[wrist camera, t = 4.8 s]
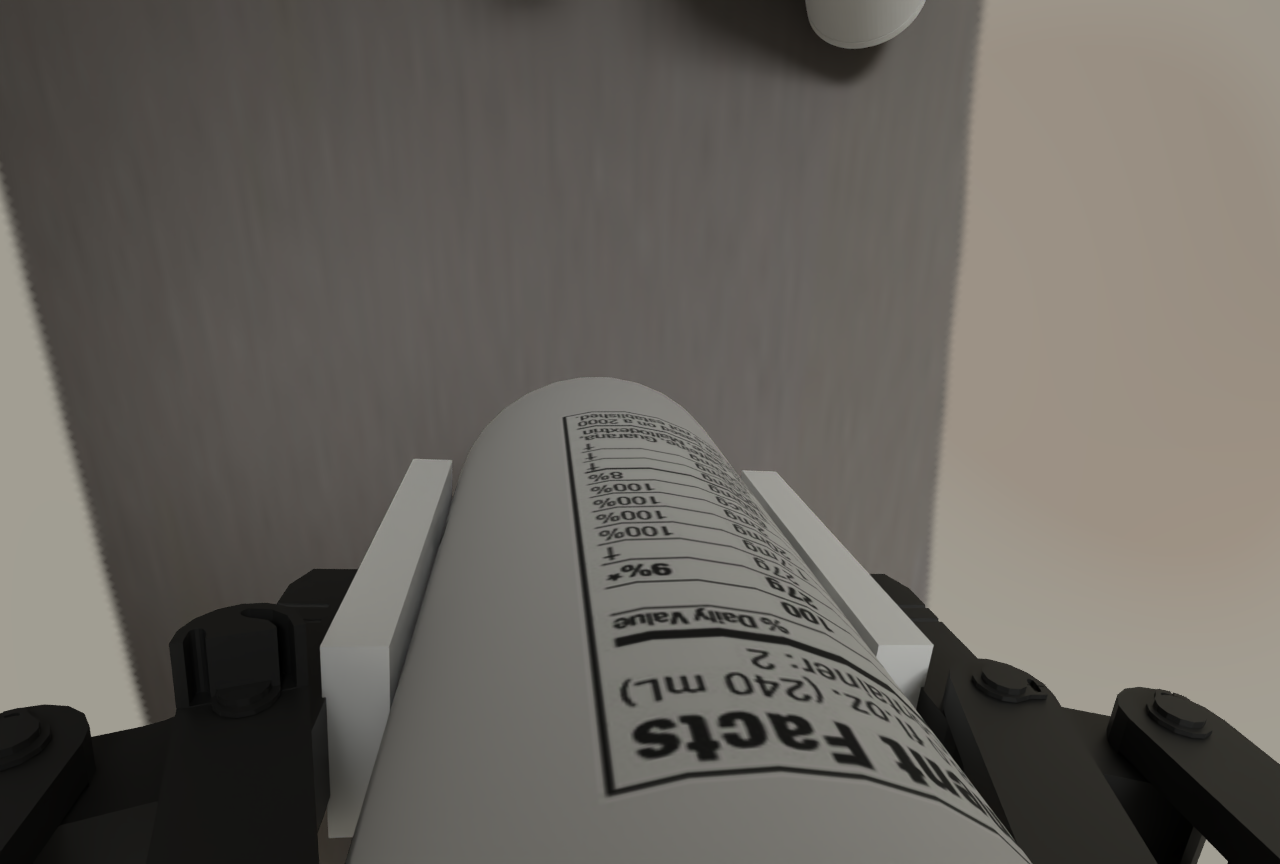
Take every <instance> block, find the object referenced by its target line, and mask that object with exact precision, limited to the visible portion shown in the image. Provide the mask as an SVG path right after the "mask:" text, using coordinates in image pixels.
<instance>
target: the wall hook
mask: <svg viewBox="0 0 1280 864" xmlns="http://www.w3.org/2000/svg"><path fill="white" fill-rule="evenodd" d="M805 3H806V9H807V15H808V19H809V22H810V25H811V27H812V28H813V30H814V31H815V33H816V34H817V35H818V36H819V37H820V38H821V39H823V40H824V41H826V42H828V43H829V44H832V45H834V46H837V47H841V48H848V49H859V48H867V47H871V46H875V45H878V44H881V43H883V42H886V41H888V40H890V39H891V38H893V37H895V36H897V35H898V34H899V33H901V32H902V31H903V30H905V29H906V28H907V27H908V26H909V25H910V24H911V23H912V22H913V21H914V19H915V18H916V17H917V16H918V14H919V13H920V11H921V9H922V7H923V5H924V3H925V0H805Z"/></svg>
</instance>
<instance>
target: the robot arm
mask: <svg viewBox="0 0 1280 864" xmlns="http://www.w3.org/2000/svg"><path fill="white" fill-rule="evenodd" d="M741 479H742V481H743V482H744V483H745V485H746V486H747V487H748V489H749V490H750V491H751V492H752V494H753V495H754V496H755V498H756V499H757V500H758V502H759V503H760V504H761V506H762V507H763V508H764V510H765V511H766V512H767V514H768V515H769V516H770V518H771V519H772V520H773V522H774V523H775V524H776V526H777V527H778V528H779V530H780V531H781V532H782V533H783V535H784V536H785V537H786V539H787V540H788V541H789V543H790V544H791V545H792V547H793V548H794V549H795V551H796V552H797V553H798V555H799V556H800V557H801V559H802V560H803V561H804V563H805V564H806V565H807V567H808V568H809V569H810V570H811V572H812V573H813V574H814V576H815V577H816V578H817V580H818V581H819V582H820V584H821V585H822V586H823V588H824V589H825V590H826V592H827V593H828V594H829V596H830V597H831V598H832V600H833V601H834V602H835V604H836V605H837V606H838V608H839V609H840V610H841V611H842V613H843V614H844V615H845V617H846V618H847V619H848V621H849V622H850V623H851V625H852V626H853V627H854V629H855V630H856V631H857V633H858V634H859V635H860V637H861V638H862V639H863V641H864V642H865V643H866V645H867V646H868V647H869V648H870V650H871V651H872V652H873V654H874V655H875V656H876V658H877V659H878V660H879V662H880V663H881V664H882V666H883V667H884V668H885V670H886V671H887V672H888V674H889V675H890V676H891V678H892V679H893V680H894V682H895V683H896V684H897V686H898V687H899V688H900V689H901V691H902V692H903V693H904V695H905V696H906V697H907V699H908V700H909V701H910V703H911V704H912V705H913V707H914V708H915V709H916V711H917V712H918V713H919V715H920V716H921V717H922V719H923V720H924V721H925V723H926V724H927V725H928V726H929V728H930V729H931V730H932V732H933V733H934V734H935V736H936V737H937V738H938V740H939V741H940V742H941V744H942V745H943V746H944V748H945V749H946V750H947V752H948V753H949V754H950V756H951V757H952V758H953V760H954V761H955V762H956V764H957V765H958V766H959V767H960V769H961V770H962V771H963V773H964V774H965V775H966V777H967V778H968V779H969V781H970V782H971V783H972V785H973V786H974V787H975V789H976V790H977V791H978V793H979V794H980V795H981V797H982V798H983V799H984V801H985V802H986V803H987V804H988V806H989V807H990V808H991V810H992V811H993V812H994V814H995V815H996V816H997V818H998V819H999V820H1000V822H1001V823H1002V824H1003V826H1004V827H1005V828H1006V830H1007V831H1008V832H1009V834H1010V835H1011V836H1012V838H1013V839H1014V840H1015V842H1016V843H1017V844H1018V845H1019V847H1020V848H1021V849H1022V851H1023V852H1024V853H1025V855H1026V856H1027V857H1028V859H1029V860H1030V861H1031V863H1032V864H1197V862H1198V859H1199V856H1200V853H1201V851H1202V848H1203V846H1204V843H1205V841H1206V839H1207V840H1208V841H1209V842H1210V843H1211V844H1212V845H1213V846H1214V847H1215V848H1216V849H1217V850H1218V851H1219V853H1221V855H1222V856H1224V858H1225V859H1226V860H1227V861H1228V864H1280V764H1279V763H1277V762H1276V761H1274V760H1273V759H1272V758H1271V757H1270V756H1268V755H1267V754H1266V753H1265V752H1263V751H1262V750H1261V749H1260V748H1258V747H1257V746H1256V745H1254V744H1253V743H1252V742H1251V741H1249V740H1248V739H1247V738H1246V737H1244V736H1243V735H1242V734H1241V733H1240V732H1238V731H1237V730H1236V729H1235V728H1233V727H1232V726H1230V725H1229V724H1228V723H1227V722H1226V721H1225V720H1223V719H1221V718H1220V717H1218V716H1217V715H1215V714H1214V713H1212V712H1211V711H1209V710H1208V709H1206V708H1205V707H1203V706H1200V705H1198V704H1196V703H1194V702H1192V701H1190V700H1189V699H1187V698H1186V697H1184V696H1182V695H1179V694H1176V693H1173V694H1171V692H1170V691H1165V690H1161V689H1150V688H1143V687H1135V688H1127V689H1124V690H1123V691H1122V692H1120V693H1119V694H1118V695H1117V698H1116V701H1115V704H1114V708H1113V711H1112V714H1111V716H1106V715H1101V714H1095V713H1089V712H1085V711H1080V710H1075V709H1069V708H1064V707H1061V705H1060V704H1059V702H1058V700H1057V699H1056V697H1055V696H1054V695H1053V693H1052V692H1051V691H1050V690H1049V689H1048V688H1047V687H1046V686H1045V685H1044V684H1043V683H1042V682H1040V681H1039V680H1037V679H1035V678H1034V677H1033V676H1031V675H1030V674H1028V673H1026V672H1024V671H1022V670H1020V669H1017V668H1015V667H1013V666H1011V665H1008V664H1005V663H1001V662H997V661H993V660H989V659H978V658H977V657H976V656H974V654H973V653H972V652H971V651H970V650H969V649H968V648H967V647H966V646H965V645H964V644H963V643H962V642H961V641H960V640H959V639H958V638H957V637H956V636H955V635H954V634H953V633H952V632H951V631H950V630H949V629H948V628H947V627H946V626H945V625H944V624H943V623H942V622H939V621H938V618H937V617H936V616H935V615H934V613H933V612H932V611H930V609H929V608H925V604H924V603H923V602H922V601H921V600H920V599H919V598H918V597H917V596H916V595H915V594H914V593H913V592H912V591H911V590H910V589H909V588H907V587H906V586H904V585H902V584H900V583H899V582H897V581H895V580H894V579H892V578H890V577H888V576H887V575H885V574H869V573H868V572H867V571H866V570H865V569H864V568H863V567H862V566H861V565H860V563H859V562H858V561H857V560H856V559H855V558H854V557H853V556H852V555H851V554H850V552H849V551H848V550H847V549H846V548H845V547H844V546H843V545H842V544H841V543H840V541H839V540H838V539H837V538H836V537H835V536H834V535H833V534H832V533H831V532H830V530H829V529H828V528H827V527H826V526H825V525H824V524H823V523H822V522H821V521H820V519H819V518H818V517H817V516H816V515H815V514H814V513H813V512H812V511H811V510H810V508H809V507H808V506H807V505H806V504H805V503H804V502H803V501H802V500H801V499H800V497H799V496H798V495H797V494H796V493H795V492H794V491H793V490H792V489H791V488H790V486H789V485H788V484H787V483H786V482H785V481H784V480H783V479H782V478H781V477H780V475H779V474H778V473H777V472H772V471H744V470H742V475H741ZM451 503H452V460H434V459H413V461H412V463H411V465H410V467H409V469H408V471H407V473H406V475H405V477H404V479H403V481H402V483H401V485H400V487H399V489H398V491H397V493H396V495H395V497H394V499H393V501H392V503H391V505H390V507H389V509H388V511H387V513H386V515H385V517H384V519H383V521H382V523H381V525H380V527H379V529H378V531H377V533H376V535H375V537H374V539H373V541H372V543H371V545H370V547H369V549H368V551H367V553H366V555H365V557H364V559H363V561H362V563H361V565H360V567H359V569H313V570H311V571H310V572H308V573H307V574H305V575H304V576H302V577H301V578H299V579H297V580H296V581H294V582H293V583H291V584H290V585H289V586H288V588H287V589H286V591H285V592H284V594H283V595H282V597H281V598H280V600H279V601H278V603H277V605H276V604H270V603H254V604H240V605H236V606H231V607H226V608H222V609H217V610H215V611H212V612H210V613H207V614H205V615H203V616H200V617H198V618H195V619H194V620H192V621H191V622H189V623H188V624H186V625H185V626H184V627H182V628H181V629H179V630H178V631H177V632H176V634H175V635H174V637H173V639H172V640H171V642H170V643H169V647H170V656H171V665H172V674H173V683H174V692H175V701H176V715H175V717H172V718H170V719H167V720H165V721H161V722H158V723H154V724H150V725H146V726H143V727H138V728H134V729H128V730H124V731H119V732H114V733H109V734H104V735H100V736H94V737H91V734H90V727H89V724H88V722H87V719H86V717H85V714H84V713H82V712H80V711H78V710H76V709H74V708H71V707H69V706H57V705H38V706H31V707H25V708H17V709H13V710H8V711H4V712H3V713H0V864H319V855H318V837H317V833H318V830H319V827H320V824H321V822H322V819H323V816H324V813H325V810H326V807H327V815H328V837H329V838H344V837H353V835H354V831H355V828H356V825H357V821H358V818H359V815H360V811H361V808H362V804H363V801H364V798H365V794H366V791H367V787H368V784H369V781H370V777H371V774H372V771H373V767H374V764H375V760H376V757H377V754H378V750H379V747H380V743H381V740H382V737H383V733H384V730H385V727H386V723H387V720H388V716H389V713H390V710H391V706H392V703H393V699H394V696H395V693H396V689H397V686H398V683H399V679H400V676H401V672H402V669H403V666H404V662H405V659H406V655H407V652H408V649H409V645H410V642H411V639H412V635H413V632H414V628H415V625H416V622H417V618H418V615H419V611H420V608H421V605H422V601H423V598H424V594H425V591H426V588H427V584H428V581H429V578H430V574H431V571H432V567H433V564H434V561H435V557H436V554H437V550H438V547H439V544H440V540H441V537H442V534H443V530H444V527H445V523H446V520H447V517H448V513H449V510H450V506H451Z"/></svg>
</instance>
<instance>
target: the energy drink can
mask: <svg viewBox="0 0 1280 864" xmlns="http://www.w3.org/2000/svg"><path fill="white" fill-rule="evenodd" d="M345 864H1032V863H1031V861H1030V860H1029V859H1028V857H1027V856H1026V855H1025V853H1024V852H1023V851H1022V849H1021V848H1020V847H1019V845H1018V844H1017V843H1016V842H1015V840H1014V839H1013V838H1012V836H1011V835H1010V834H1009V832H1008V831H1007V830H1006V828H1005V827H1004V826H1003V824H1002V823H1001V822H1000V820H999V819H998V818H997V816H996V815H995V814H994V812H993V811H992V810H991V808H990V807H989V806H988V804H987V803H986V802H985V801H984V799H983V798H982V797H981V795H980V794H979V793H978V791H977V790H976V789H975V787H974V786H973V785H972V783H971V782H970V781H969V779H968V778H967V777H966V775H965V774H964V773H963V771H962V770H961V769H960V767H959V766H958V765H957V764H956V762H955V761H954V760H953V758H952V757H951V756H950V754H949V753H948V752H947V750H946V749H945V748H944V746H943V745H942V744H941V742H940V741H939V740H938V738H937V737H936V736H935V734H934V733H933V732H932V730H931V729H930V728H929V726H928V725H927V724H926V723H925V721H924V720H923V719H922V717H921V716H920V715H919V713H918V712H917V711H916V709H915V708H914V707H913V705H912V704H911V703H910V701H909V700H908V699H907V697H906V696H905V695H904V693H903V692H902V691H901V689H900V688H899V687H898V686H897V684H896V683H895V682H894V680H893V679H892V678H891V676H890V675H889V674H888V672H887V671H886V670H885V668H884V667H883V666H882V664H881V663H880V662H879V660H878V659H877V658H876V656H875V655H874V654H873V652H872V651H871V650H870V648H869V647H868V646H867V645H866V643H865V642H864V641H863V639H862V638H861V637H860V635H859V634H858V633H857V631H856V630H855V629H854V627H853V626H852V625H851V623H850V622H849V621H848V619H847V618H846V617H845V615H844V614H843V613H842V611H841V610H840V609H839V608H838V606H837V605H836V604H835V602H834V601H833V600H832V598H831V597H830V596H829V594H828V593H827V592H826V590H825V589H824V588H823V586H822V585H821V584H820V582H819V581H818V580H817V578H816V577H815V576H814V574H813V573H812V572H811V570H810V569H809V568H808V567H807V565H806V564H805V563H804V561H803V560H802V559H801V557H800V556H799V555H798V553H797V552H796V551H795V549H794V548H793V547H792V545H791V544H790V543H789V541H788V540H787V539H786V537H785V536H784V535H783V533H782V532H781V531H780V530H779V528H778V527H777V526H776V524H775V523H774V522H773V520H772V519H771V518H770V516H769V515H768V514H767V512H766V511H765V510H764V508H763V507H762V506H761V504H760V503H759V502H758V500H757V499H756V498H755V496H754V495H753V494H752V492H751V491H750V490H749V489H748V487H747V486H746V485H745V483H744V482H743V481H742V479H741V478H740V477H739V475H738V474H737V473H736V471H735V470H734V469H733V467H732V466H731V465H730V463H729V462H728V461H727V459H726V458H725V457H724V455H723V454H722V453H721V451H720V450H719V449H718V448H717V446H716V445H715V444H714V442H713V441H712V440H711V438H710V437H709V436H708V434H707V433H706V432H705V430H704V429H703V428H702V426H701V425H700V424H699V423H698V422H697V421H696V420H695V419H694V418H693V417H692V416H691V415H690V414H689V413H688V412H687V411H686V410H685V409H684V408H683V407H682V406H680V405H679V404H677V403H676V402H674V401H673V400H671V399H670V398H668V397H667V396H666V395H664V394H663V393H660V392H658V391H656V390H653V389H651V388H649V387H646V386H644V385H641V384H639V383H636V382H631V381H626V380H621V379H616V378H611V377H581V378H576V379H571V380H565V381H560V382H555V383H552V384H550V385H547V386H545V387H542V388H540V389H537V390H535V391H532V392H530V393H528V394H526V395H525V396H523V397H521V398H520V399H518V400H517V401H515V402H514V403H512V404H511V405H509V406H507V407H506V408H505V409H504V410H502V411H501V412H500V413H499V414H498V415H497V416H496V417H495V418H494V419H493V420H492V421H491V422H490V423H489V424H488V425H487V426H486V427H485V428H484V430H483V431H482V433H481V434H480V436H479V437H478V439H477V440H476V442H475V443H474V444H473V446H472V447H471V449H470V451H469V453H468V456H467V458H466V461H465V463H464V466H463V468H462V470H461V473H460V476H459V479H458V483H457V486H456V490H455V493H454V496H453V500H452V503H451V506H450V510H449V513H448V517H447V520H446V523H445V527H444V530H443V534H442V537H441V540H440V544H439V547H438V550H437V554H436V557H435V561H434V564H433V567H432V571H431V574H430V578H429V581H428V584H427V588H426V591H425V594H424V598H423V601H422V605H421V608H420V611H419V615H418V618H417V622H416V625H415V628H414V632H413V635H412V639H411V642H410V645H409V649H408V652H407V655H406V659H405V662H404V666H403V669H402V672H401V676H400V679H399V683H398V686H397V689H396V693H395V696H394V699H393V703H392V706H391V710H390V713H389V716H388V720H387V723H386V727H385V730H384V733H383V737H382V740H381V743H380V747H379V750H378V754H377V757H376V760H375V764H374V767H373V771H372V774H371V777H370V781H369V784H368V787H367V791H366V794H365V798H364V801H363V804H362V808H361V811H360V815H359V818H358V821H357V825H356V828H355V831H354V835H353V838H352V842H351V845H350V848H349V852H348V855H347V859H346V862H345Z"/></svg>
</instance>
